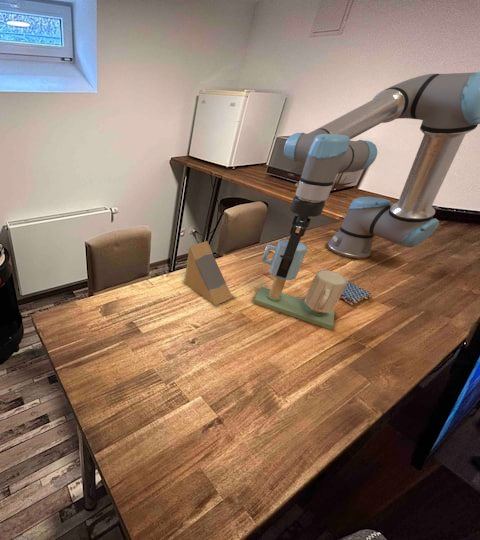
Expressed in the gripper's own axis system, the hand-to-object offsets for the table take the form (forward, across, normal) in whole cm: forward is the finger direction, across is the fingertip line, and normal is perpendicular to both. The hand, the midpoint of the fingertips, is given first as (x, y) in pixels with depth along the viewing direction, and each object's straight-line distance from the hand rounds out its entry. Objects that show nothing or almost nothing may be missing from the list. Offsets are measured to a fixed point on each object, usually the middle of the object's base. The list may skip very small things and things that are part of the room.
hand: (283, 270), depth 90 cm
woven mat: (+12, -19, +20) cm, 30 cm away
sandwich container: (+13, +6, -20) cm, 24 cm away
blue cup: (+1, 0, -1) cm, 2 cm away
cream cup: (+8, +1, +12) cm, 15 cm away
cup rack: (+12, 0, +6) cm, 14 cm away
